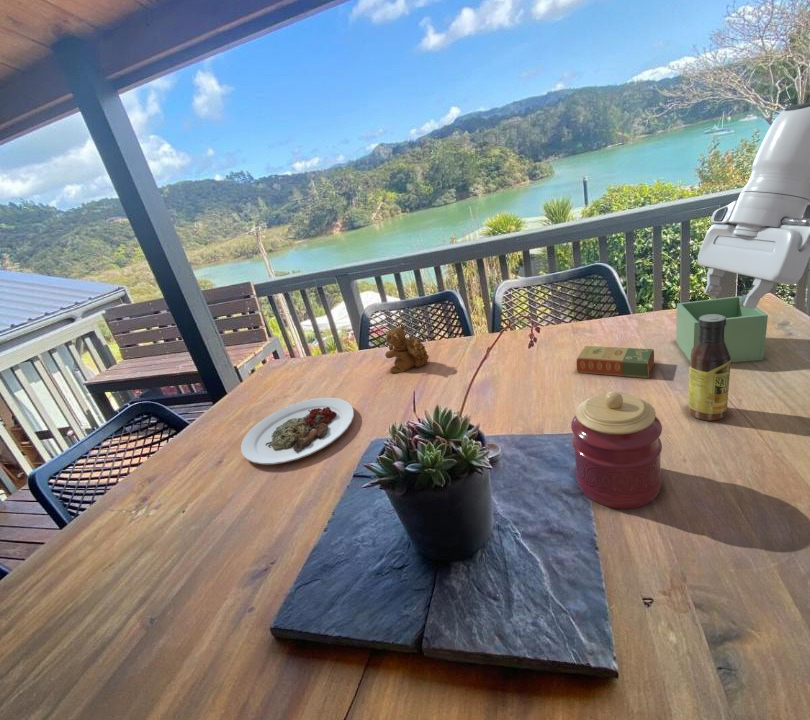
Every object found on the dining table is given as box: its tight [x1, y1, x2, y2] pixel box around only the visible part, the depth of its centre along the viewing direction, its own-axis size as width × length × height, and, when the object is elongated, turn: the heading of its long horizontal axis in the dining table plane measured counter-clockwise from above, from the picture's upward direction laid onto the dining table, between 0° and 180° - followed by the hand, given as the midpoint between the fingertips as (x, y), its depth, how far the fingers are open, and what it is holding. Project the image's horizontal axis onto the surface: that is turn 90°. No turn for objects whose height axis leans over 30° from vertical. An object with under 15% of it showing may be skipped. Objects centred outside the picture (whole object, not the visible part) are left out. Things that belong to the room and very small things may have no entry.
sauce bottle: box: [687, 314, 732, 422], centre depth 81 cm, size 7×6×20 cm
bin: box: [675, 295, 769, 363], centre depth 103 cm, size 14×14×11 cm
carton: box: [576, 345, 655, 379], centre depth 107 cm, size 8×16×4 cm, turn 55°
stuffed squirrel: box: [384, 325, 430, 374], centre depth 135 cm, size 10×14×13 cm
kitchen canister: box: [570, 390, 663, 510], centre depth 70 cm, size 13×13×18 cm
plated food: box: [240, 397, 355, 465], centre depth 114 cm, size 30×30×3 cm
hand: (727, 301), depth 74 cm, fingers open, 8 cm apart
